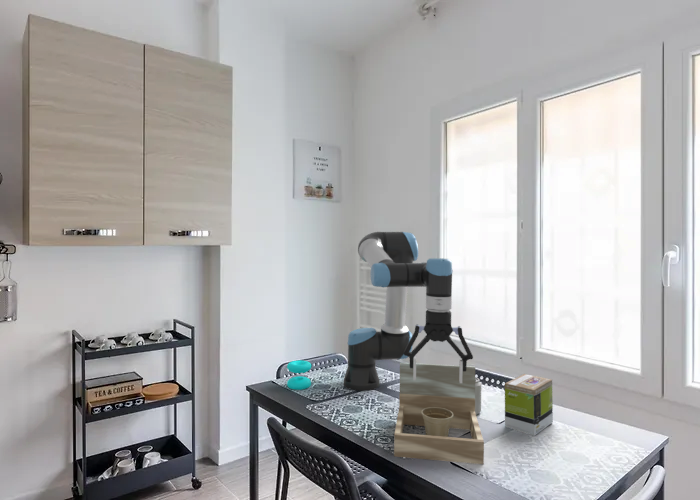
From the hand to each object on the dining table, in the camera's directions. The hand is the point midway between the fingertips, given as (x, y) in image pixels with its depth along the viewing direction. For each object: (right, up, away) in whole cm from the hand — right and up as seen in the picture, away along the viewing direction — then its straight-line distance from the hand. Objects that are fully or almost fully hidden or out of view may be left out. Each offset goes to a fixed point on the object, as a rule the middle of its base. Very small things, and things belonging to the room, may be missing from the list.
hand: (437, 380), depth 133 cm
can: (+16, -18, +23) cm, 34 cm away
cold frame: (0, -18, 0) cm, 18 cm away
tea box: (+33, -19, +13) cm, 40 cm away
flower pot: (0, -18, 0) cm, 18 cm away
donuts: (-47, -18, +50) cm, 71 cm away
